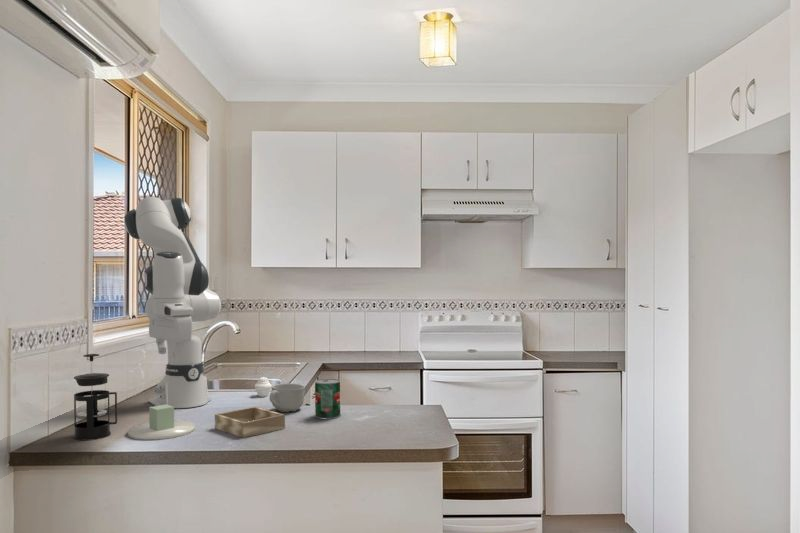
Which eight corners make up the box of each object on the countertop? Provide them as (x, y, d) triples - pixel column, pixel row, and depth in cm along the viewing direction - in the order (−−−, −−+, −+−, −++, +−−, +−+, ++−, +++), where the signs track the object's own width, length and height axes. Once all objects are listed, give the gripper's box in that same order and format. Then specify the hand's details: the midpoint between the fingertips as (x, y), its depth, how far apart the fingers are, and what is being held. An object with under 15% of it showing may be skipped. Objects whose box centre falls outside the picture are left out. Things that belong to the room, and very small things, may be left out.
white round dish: (117, 432, 184) (117, 428, 184) (177, 420, 197) (176, 417, 197) (144, 443, 171) (144, 440, 171) (206, 430, 184) (206, 427, 184)
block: (149, 428, 184) (149, 407, 184) (166, 424, 188) (166, 404, 188) (157, 431, 181) (157, 409, 181) (174, 427, 184) (173, 406, 184)
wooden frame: (215, 428, 187) (214, 414, 187) (255, 419, 197) (255, 406, 197) (243, 437, 176) (243, 423, 176) (285, 428, 186) (284, 414, 186)
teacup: (290, 405, 217) (289, 381, 217) (312, 409, 210) (311, 385, 210) (256, 412, 206) (256, 387, 206) (278, 417, 200) (278, 391, 200)
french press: (68, 442, 174) (67, 357, 174) (73, 433, 183) (72, 353, 183) (115, 437, 178) (114, 354, 178) (118, 429, 187) (117, 350, 187)
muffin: (267, 398, 229) (266, 378, 229) (251, 397, 231) (251, 377, 231) (274, 394, 235) (274, 375, 235) (259, 393, 237) (259, 374, 237)
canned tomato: (344, 416, 199) (344, 381, 199) (321, 420, 195) (320, 384, 195) (334, 412, 206) (333, 377, 206) (311, 415, 202) (311, 380, 202)
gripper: (143, 306, 191) (143, 352, 191) (174, 310, 176) (175, 360, 177) (163, 305, 195) (163, 350, 196) (196, 309, 181) (196, 357, 181)
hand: (169, 355), depth 186 cm, fingers open, 8 cm apart
